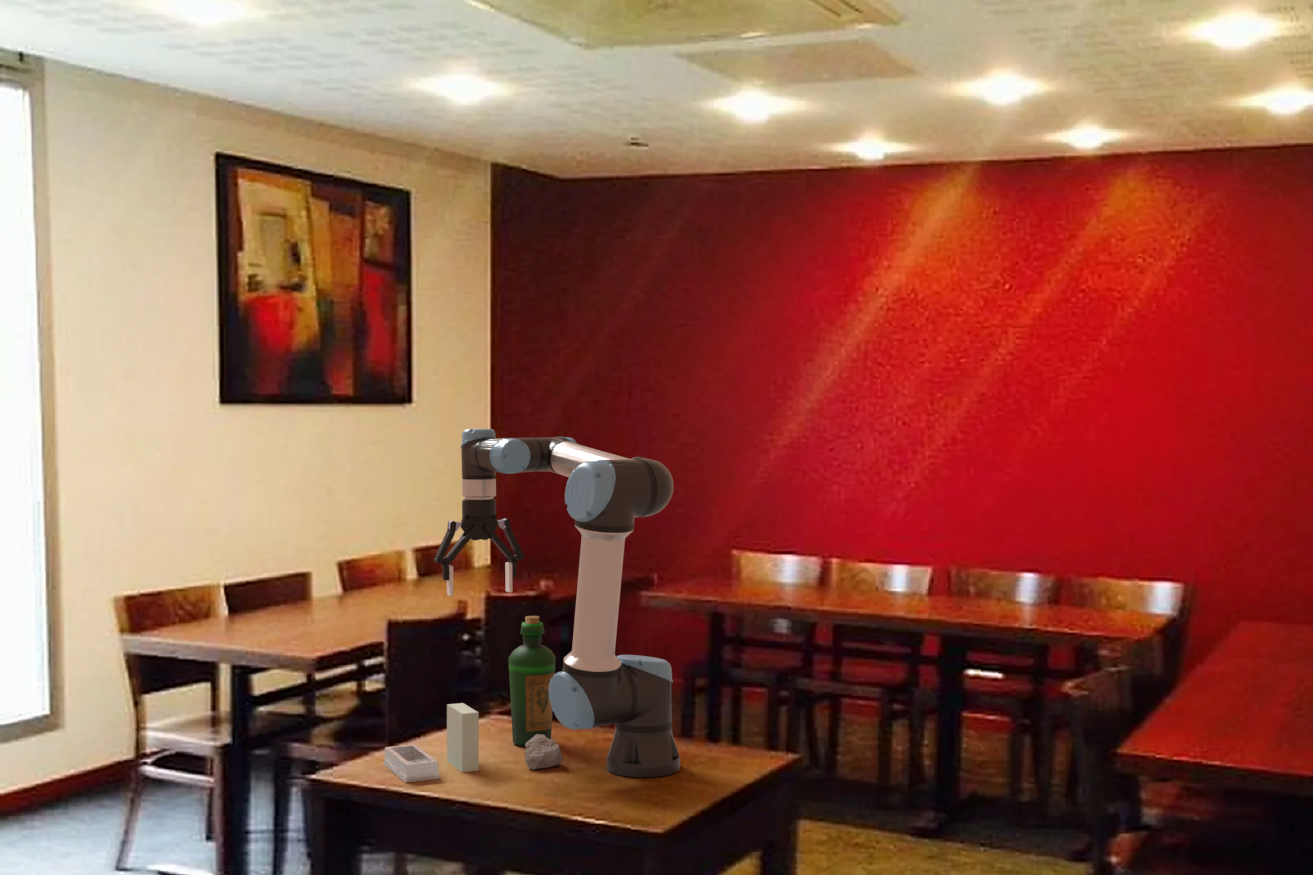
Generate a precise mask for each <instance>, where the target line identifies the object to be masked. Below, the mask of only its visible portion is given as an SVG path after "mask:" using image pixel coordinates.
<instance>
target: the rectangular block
mask: <svg viewBox="0 0 1313 875" xmlns="http://www.w3.org/2000/svg"><path fill="white" fill-rule="evenodd" d="M479 713H480V712H479V711H477V710H475V709H474V708H472V707H470V706H469V705H467V704H466V703H464V702H460V703H457V702H456V703H449V704H446V762H447V763H449V764H450V765H451V766H453V767H454V768H455V769H457V770H458V771H460V772H461V773H470V772H476V771H479V766H480V765H479V756H480V755H479V746H480V745H479V741H480V739H479V728H480V727H479V726H480V725H479Z"/></svg>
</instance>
